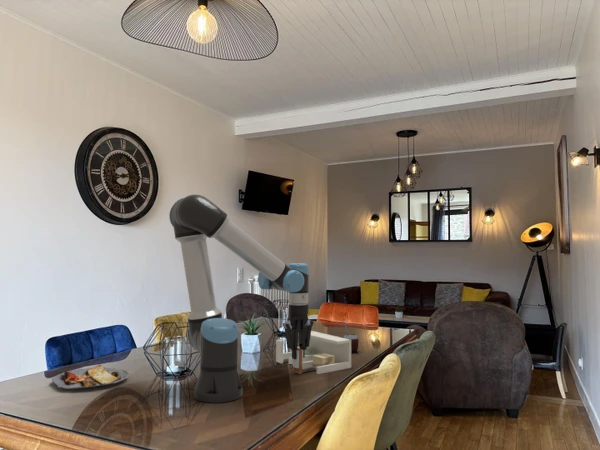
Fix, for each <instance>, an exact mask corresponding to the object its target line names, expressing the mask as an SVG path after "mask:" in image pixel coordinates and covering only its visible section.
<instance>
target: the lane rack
mask: <svg viewBox="0 0 600 450" xmlns="http://www.w3.org/2000/svg"><path fill="white" fill-rule="evenodd" d="M298 336H299V333H298ZM309 347H313V348H314V354H311V355H305V357H304V358H303V368H302V369H304V368H309V367H313V355H318V354H324V353H325V354H329V355H332V356H335V364H330V365H324V366H319V367H316V370H315V374H316V375H320V374H321V375H322V374H325V373H326V374H327V373H332V372H337V371H343V370H347V369H352V354H351V340H350V339H346V338H344V337H340V336H337V335H332V334H328V333H323V332H319V331H315V330H311V336H310V343H309ZM287 358H289V361H288V365H289V364H292V365H293V359H292V351H289V352H283V359H287Z"/></svg>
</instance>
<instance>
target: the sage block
mask: <svg viewBox="0 0 600 450" xmlns="http://www.w3.org/2000/svg"><path fill="white" fill-rule="evenodd" d="M275 342H276V345H275V363H279V364H284V363H287V362H288V363H289V358H287V359H283V353H284V340H282V339H276V340H275ZM297 348H299V345H298V347H297ZM306 348H307V349H306V350H305V355H311V354H314V348H313V347H306Z"/></svg>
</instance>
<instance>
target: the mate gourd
mask: <svg viewBox="0 0 600 450" xmlns="http://www.w3.org/2000/svg"><path fill="white" fill-rule="evenodd" d="M342 323H343V324H344V326H345V331H346V334H344V336H343V338H346V339H350V340H351V355H352V354H358V352H359V337H358V335H357V334H354V333H349V330H348V325H347V324H346V322H345V321H344V320H342Z"/></svg>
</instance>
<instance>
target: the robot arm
mask: <svg viewBox="0 0 600 450" xmlns="http://www.w3.org/2000/svg"><path fill="white" fill-rule="evenodd" d="M168 215H169V222H170V224H171V226H172V228H173V231H174V238H175V240H177V242H179V243H180V248H181V253H182V259H183V265H184V267H183V268H184V273H185V280H186V286H187V292H188V293H187V294H188V298H189V304H190V313H189V314H188V315H187V322H188V323H187V324H188V325H187V326H188V329H187V340H188V343H189V344H190V345H191V347H192V348H193V349H194V350H195V351H197V352H198V353H200V359H199V360H200V366H199V367H200V369H199V370H200V371H199V374H198V377H197V379H196V384H195V385H194V390H193V392H194V393H193V398H194V399H195V400H197V401H199V402H204V403H210V404H211V403H212V404H213V403H227V402H232V401H235V400H238V399H240V398H241V397H243V393H244V392H243V391H244V388H243V385H242V382H241V378H240V374H239V370H238V359H239V358H238V352H239V349H238V348H239V347H238V346H239V327H238V324H237V322H236V321H235V320H232V319H230V318H229V319H227V318H224V317H223V315H222V313H223V312H222V310H221V309H219V308H218V307H217V304H216V297H215V289H214V283H213V278H212V271H211V265H210V264H211V263H210V258H209V250H208V244H207V243H208V242H207V238H208V239H212V238H214V239H215V240H217V242H219V243H221V244H222V245H223V246H224V247H226V248H227V249H228V250H230V251H231V252H232V253H233V254H235V255H236V256H237V257H239V258H241V259H242V260H243V261H244V262H245V263H247V264H248V265H249V266H251V267H253V269H255V270H256V271H258V275H257V276H258V277H257V283H258V287H259V288H260V289H261V290H267V291H269V290H276V291H282V292H286V293H288V303H289V304H288V319H287V322H283V323H282V327H283V329H284V333H285V335H284V336H285V343H286V348H287V349H289V350H291V352H292V359H293V364H292V367H293V368H294V367H295V368H299V350H297V347H298V346H299V348H300V349H302V368H303V358H304V357H305V350H306V349H307V348H306V347H309V343H310V336H311V331H312V328H313V325H314V321H313V320H310V319H309V316H308V314H309V277H310V273H309V265H308V264H307V263H305V262H304V263H303V262H302V263H300V262H297V263H291V262H290V263H289V264H285V263H284V262H283V261H282V260H281V259H280V258H278V257H277V256H276V255H275V254H273V253H272V252H271V251H269V250H268V249H267V248H265V247H264V246H263V245H262V244H261V243H259V242H258V241H256V240H255V239H254V238H253V237H252V236H250V235H249V234H248V233H247V232H245V231H244V230H242V228H240V227H239V226H237V225H236V224H235V223H234V222H233V221H231V220H230V219H229V215H228V214H227V213H226V212H225V211H224V210H222V209H221V208H220V207H219V206H217V205H216V204H215V203H214V202H213V201H211V200H210V199H209V198H207V197H205V196H203V195H201V194H190V195H187V196H185V197H183V198H179V199H177V201H175V202H174V203H173V204H172V206H171V208H170V211H169V214H168ZM298 333H299V335H298Z"/></svg>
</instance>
